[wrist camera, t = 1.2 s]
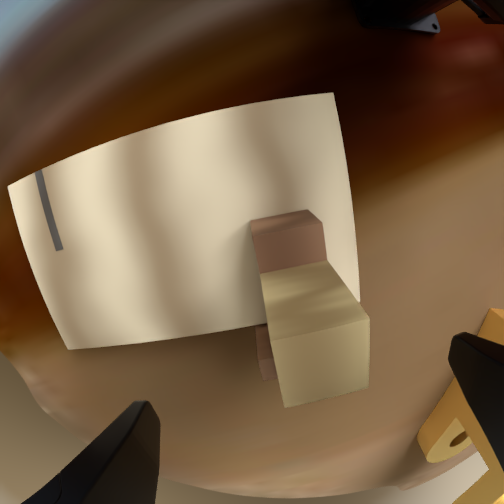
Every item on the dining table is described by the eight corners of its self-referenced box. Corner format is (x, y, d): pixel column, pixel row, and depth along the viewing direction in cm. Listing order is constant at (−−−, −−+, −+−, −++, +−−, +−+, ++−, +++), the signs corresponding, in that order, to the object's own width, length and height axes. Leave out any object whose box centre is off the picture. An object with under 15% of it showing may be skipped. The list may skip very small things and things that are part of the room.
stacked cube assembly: (317, 199, 17) (399, 258, 8) (331, 317, 20) (385, 430, 10) (231, 216, 17) (221, 296, 8) (258, 333, 20) (270, 458, 11)
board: (321, 99, 16) (333, 92, 14) (347, 284, 20) (360, 302, 18) (29, 181, 17) (7, 186, 14) (81, 331, 21) (68, 350, 18)
